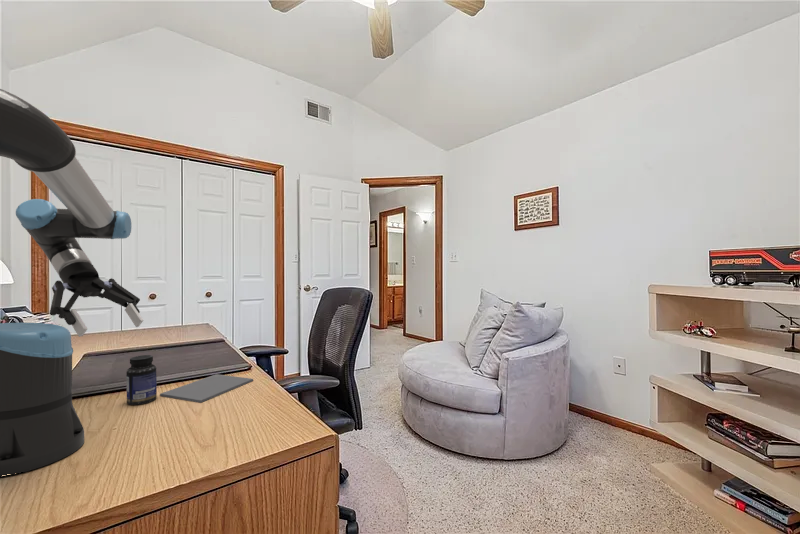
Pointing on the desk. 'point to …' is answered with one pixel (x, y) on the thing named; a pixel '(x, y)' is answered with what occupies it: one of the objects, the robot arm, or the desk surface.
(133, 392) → the pill bottle
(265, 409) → the desk surface
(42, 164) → the robot arm
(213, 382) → the desk mat
